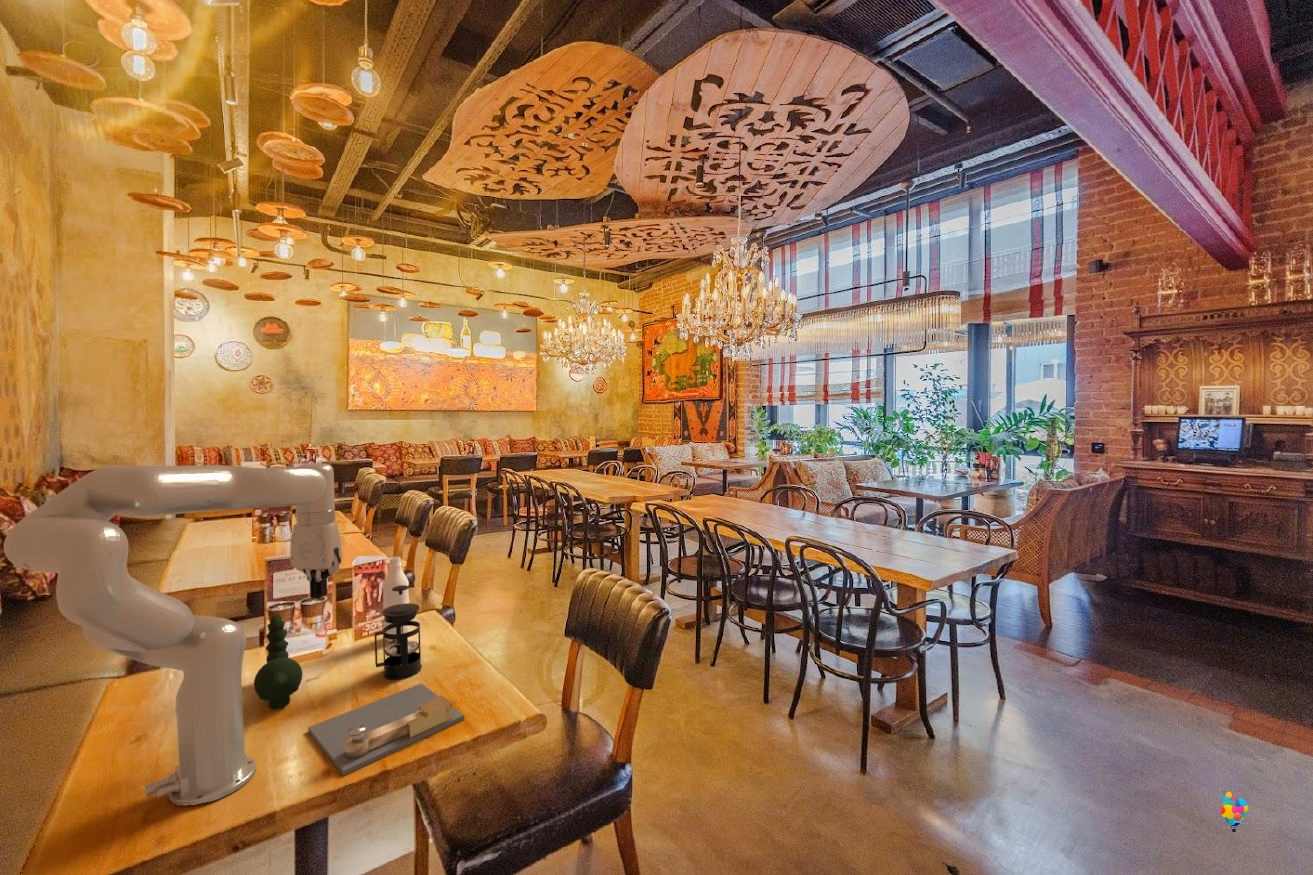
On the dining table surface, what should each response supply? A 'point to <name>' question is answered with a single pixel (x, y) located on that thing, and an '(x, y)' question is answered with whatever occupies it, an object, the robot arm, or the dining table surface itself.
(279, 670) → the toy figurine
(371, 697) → the dining table surface
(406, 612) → the french press
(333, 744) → the charcoal board
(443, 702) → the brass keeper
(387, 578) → the water bottle
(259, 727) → the dining table surface
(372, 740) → the beech link
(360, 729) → the steel pin
